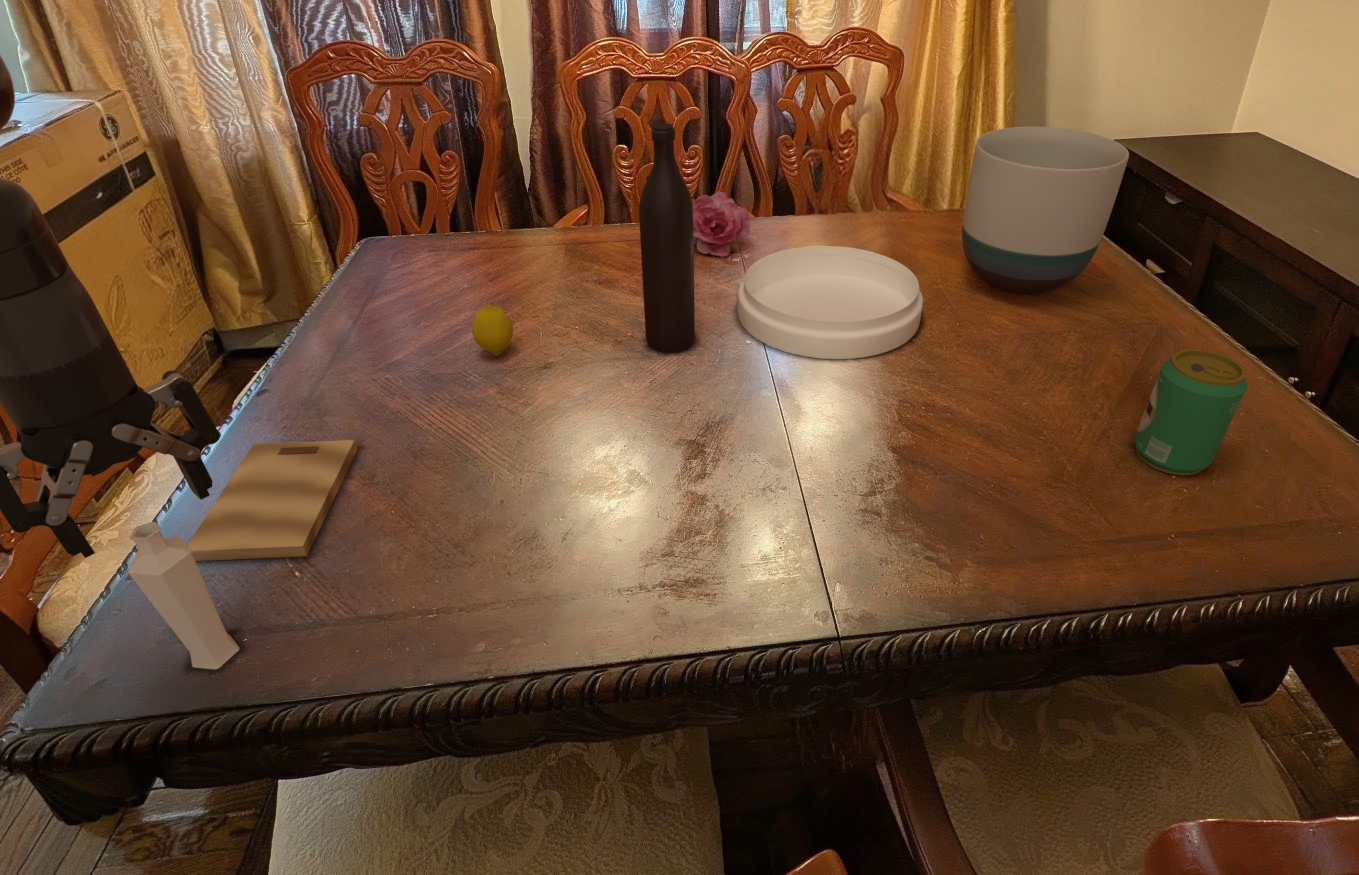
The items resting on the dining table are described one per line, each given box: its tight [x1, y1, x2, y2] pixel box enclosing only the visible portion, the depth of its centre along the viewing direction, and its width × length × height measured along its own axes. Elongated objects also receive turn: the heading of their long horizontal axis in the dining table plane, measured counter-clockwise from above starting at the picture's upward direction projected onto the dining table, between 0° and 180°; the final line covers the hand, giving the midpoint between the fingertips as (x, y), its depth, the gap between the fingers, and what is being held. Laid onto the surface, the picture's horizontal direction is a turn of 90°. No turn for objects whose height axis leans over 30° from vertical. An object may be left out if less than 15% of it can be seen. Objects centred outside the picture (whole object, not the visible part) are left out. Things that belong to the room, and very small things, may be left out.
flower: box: [691, 190, 751, 258], centre depth 140 cm, size 11×10×10 cm
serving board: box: [186, 439, 358, 562], centre depth 88 cm, size 18×12×2 cm, turn 2°
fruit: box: [471, 303, 514, 357], centre depth 111 cm, size 6×6×8 cm
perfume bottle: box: [127, 521, 240, 670], centre depth 68 cm, size 5×4×15 cm
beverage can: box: [1133, 348, 1248, 476], centre depth 88 cm, size 8×8×12 cm
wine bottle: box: [638, 122, 696, 353], centre depth 106 cm, size 7×7×30 cm
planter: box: [961, 126, 1130, 295], centre depth 121 cm, size 20×20×21 cm
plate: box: [737, 245, 924, 360], centre depth 119 cm, size 27×27×6 cm
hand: (146, 521), depth 63 cm, fingers open, 8 cm apart
